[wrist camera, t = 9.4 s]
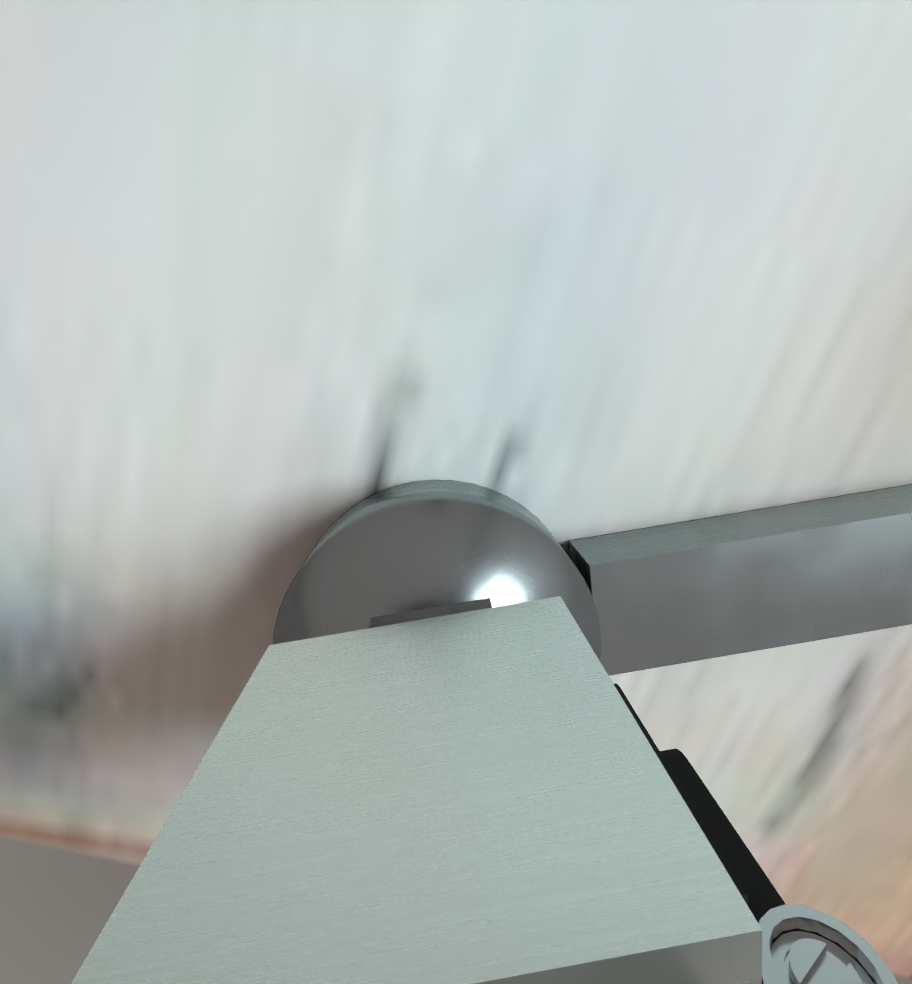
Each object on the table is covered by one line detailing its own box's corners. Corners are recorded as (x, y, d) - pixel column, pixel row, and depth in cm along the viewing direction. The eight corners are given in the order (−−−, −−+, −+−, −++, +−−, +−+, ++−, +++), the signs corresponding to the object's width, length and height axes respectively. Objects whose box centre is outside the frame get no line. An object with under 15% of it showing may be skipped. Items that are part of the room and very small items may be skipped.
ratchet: (1069, 375, 15) (1438, 378, 9) (1024, 632, 17) (1299, 752, 12) (266, 505, 14) (168, 586, 9) (331, 750, 16) (285, 931, 11)
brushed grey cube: (560, 595, 10) (762, 931, 4) (585, 825, 11) (757, 1317, 5) (269, 645, 10) (22, 1066, 4) (333, 870, 11) (227, 1424, 5)
